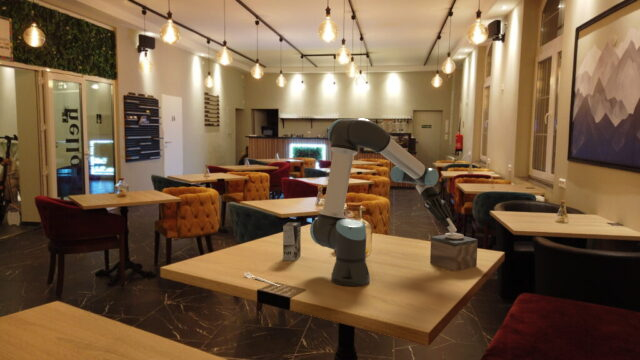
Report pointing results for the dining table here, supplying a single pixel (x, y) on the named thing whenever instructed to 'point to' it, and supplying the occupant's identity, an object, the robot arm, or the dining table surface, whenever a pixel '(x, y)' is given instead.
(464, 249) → the socket block
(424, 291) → the dining table surface
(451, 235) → the plunger
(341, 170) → the robot arm
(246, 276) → the fork
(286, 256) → the coffee box
